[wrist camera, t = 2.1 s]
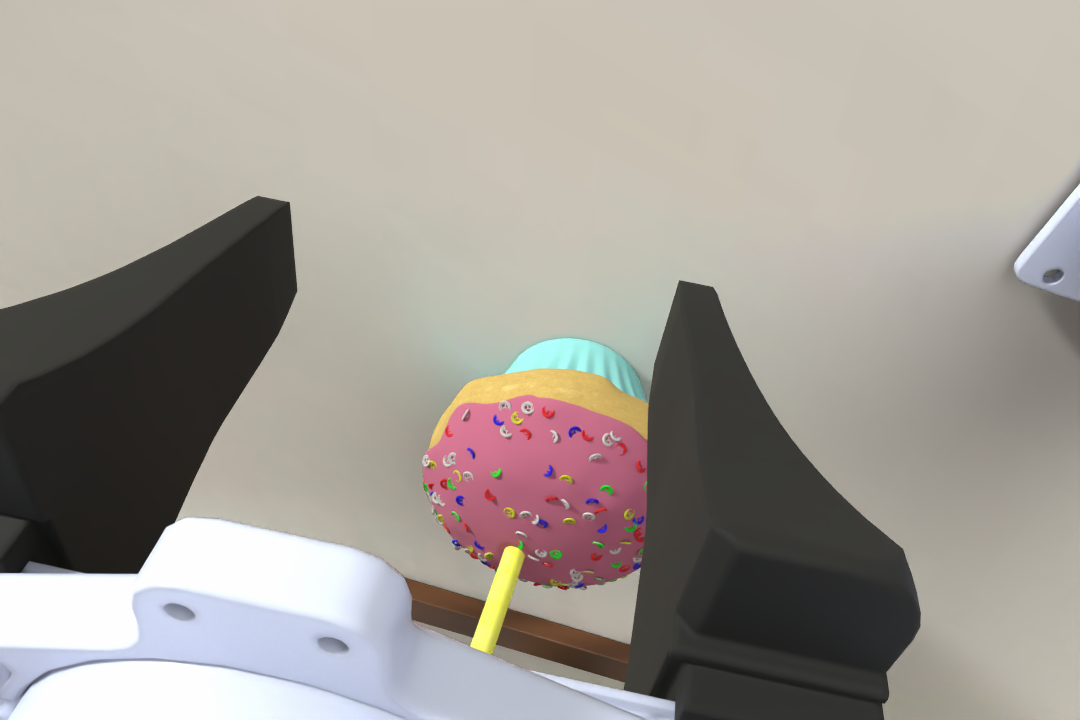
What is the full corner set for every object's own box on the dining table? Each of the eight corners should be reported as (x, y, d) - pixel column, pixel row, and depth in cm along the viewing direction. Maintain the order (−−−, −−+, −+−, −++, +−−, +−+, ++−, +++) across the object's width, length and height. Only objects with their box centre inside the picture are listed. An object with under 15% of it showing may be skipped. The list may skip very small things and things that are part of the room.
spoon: (796, 673, 40) (798, 697, 39) (749, 718, 44) (749, 742, 43) (340, 536, 39) (331, 558, 38) (328, 594, 42) (320, 616, 41)
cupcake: (556, 492, 34) (497, 804, 25) (407, 356, 30) (277, 665, 22) (745, 414, 30) (754, 758, 21) (598, 243, 26) (533, 574, 17)
